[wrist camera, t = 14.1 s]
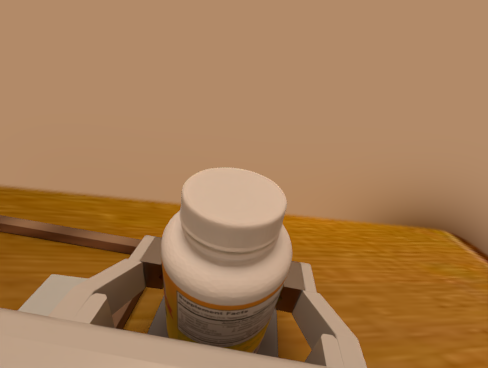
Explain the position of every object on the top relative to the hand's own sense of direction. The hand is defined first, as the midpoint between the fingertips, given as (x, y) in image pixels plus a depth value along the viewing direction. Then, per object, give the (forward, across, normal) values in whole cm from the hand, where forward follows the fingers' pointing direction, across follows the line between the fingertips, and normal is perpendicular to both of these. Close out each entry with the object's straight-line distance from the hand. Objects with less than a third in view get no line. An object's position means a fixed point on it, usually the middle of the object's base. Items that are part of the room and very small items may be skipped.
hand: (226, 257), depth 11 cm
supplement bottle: (-1, 0, +6) cm, 6 cm away
